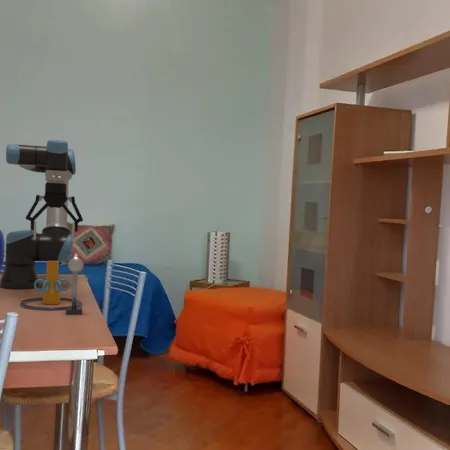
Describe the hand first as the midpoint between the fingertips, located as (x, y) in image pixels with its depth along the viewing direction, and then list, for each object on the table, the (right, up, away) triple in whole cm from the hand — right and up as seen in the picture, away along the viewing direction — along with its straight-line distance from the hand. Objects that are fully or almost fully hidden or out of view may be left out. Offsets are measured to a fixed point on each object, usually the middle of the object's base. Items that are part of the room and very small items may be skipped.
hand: (53, 239), depth 210 cm
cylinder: (+2, -23, -9) cm, 24 cm away
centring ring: (+3, -22, -12) cm, 25 cm away
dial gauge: (+13, -23, -22) cm, 35 cm away
